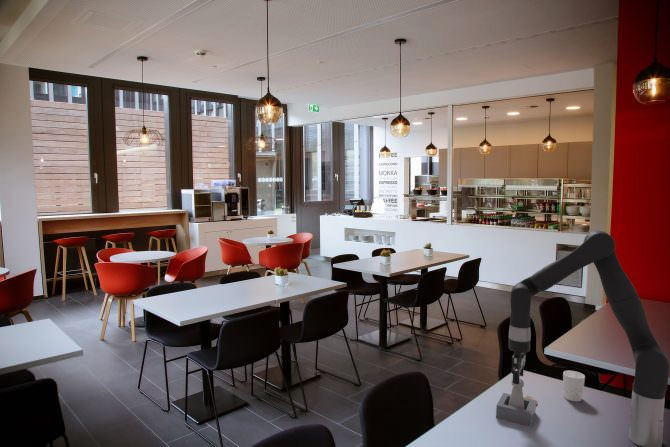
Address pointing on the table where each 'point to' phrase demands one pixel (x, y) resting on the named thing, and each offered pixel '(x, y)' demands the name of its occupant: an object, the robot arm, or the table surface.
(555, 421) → the table surface
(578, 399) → the white cup
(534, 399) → the cork coaster
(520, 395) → the salt shaker
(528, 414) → the well
